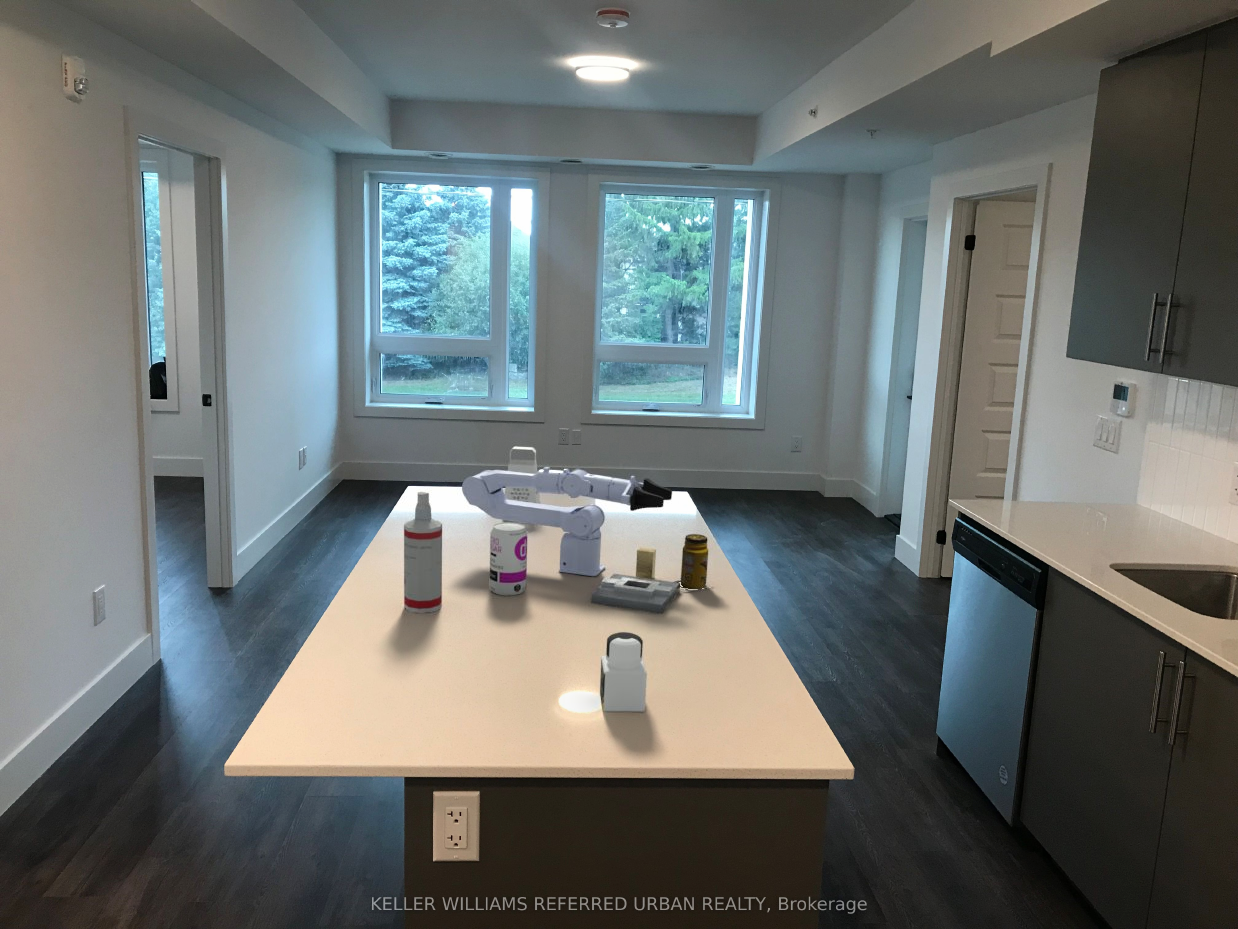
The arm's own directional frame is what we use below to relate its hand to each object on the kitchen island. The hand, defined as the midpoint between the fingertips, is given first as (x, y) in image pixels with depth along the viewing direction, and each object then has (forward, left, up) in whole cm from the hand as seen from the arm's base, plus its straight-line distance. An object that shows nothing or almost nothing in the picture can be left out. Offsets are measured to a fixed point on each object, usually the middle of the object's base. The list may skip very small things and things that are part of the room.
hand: (667, 498), depth 221 cm
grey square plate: (-3, -13, -20) cm, 24 cm away
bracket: (-3, -13, -18) cm, 23 cm away
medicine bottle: (+10, -65, -20) cm, 69 cm away
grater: (-55, +42, -20) cm, 72 cm away
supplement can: (-31, -21, -20) cm, 42 cm away
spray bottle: (-43, -38, -20) cm, 61 cm away
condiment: (+7, 0, -21) cm, 22 cm away
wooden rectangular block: (-5, +1, -20) cm, 21 cm away
